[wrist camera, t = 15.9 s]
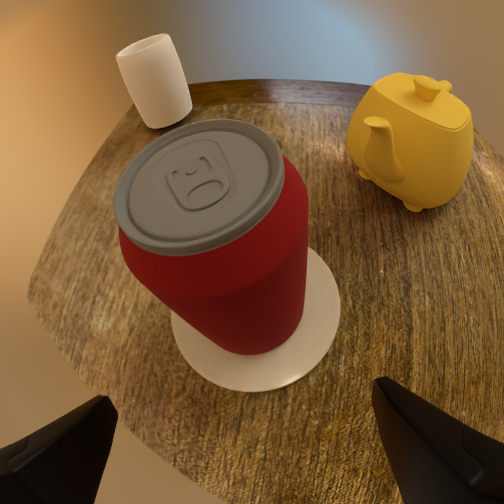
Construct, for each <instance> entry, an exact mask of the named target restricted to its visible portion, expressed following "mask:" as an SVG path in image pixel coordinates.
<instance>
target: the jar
mask: <svg viewBox="0 0 504 504" xmlns="http://www.w3.org/2000/svg"><path fill="white" fill-rule="evenodd" d="M339 319H340V297H339V292H338V288H337V284H336V282H335V279H334V277H333V275H332V273H331V271H330V269H329V268H328V266H327V265H326V263H325V262H324V261H323V260H322V258H321V257H320V256H319V255H318V254H317V253H316V252H315V251H313V250H312V249H311V248H310V247H308V256H307V276H306V291H305V301H304V310H303V315H302V318H301V321H300V323H299V325H298V327H297V329H296V330H295V332H294V333H293V334H292V336H291V337H290V338H289V339H288V340H287V341H286V342H284V343H283V344H282V345H280V346H279V347H277V348H275V349H273V350H271V351H269V352H266V353H262V354H257V355H240V354H235V353H232V352H229V351H227V350H224V349H223V348H221V347H219V346H218V345H216V344H215V343H214V342H212V341H211V340H209V339H208V338H207V337H205V336H204V335H202V334H201V333H200V332H199V331H197V330H196V329H195V328H193V327H192V326H191V325H189V324H188V323H187V322H186V321H185V320H183V319H182V318H181V317H180V316H178V315H177V314H176V313H175V312H174V311H172V310H171V323H172V330H173V334H174V338H175V341H176V343H177V346H178V348H179V350H180V352H181V353H182V355H183V357H184V358H185V360H186V361H187V362H188V363H189V364H190V366H191V367H192V368H193V369H194V370H195V371H196V372H198V373H199V374H200V375H201V376H203V377H204V378H206V379H207V380H209V381H210V382H212V383H214V384H216V385H219V386H221V387H224V388H227V389H230V390H235V391H241V392H265V391H273V390H277V389H281V388H284V387H287V386H289V385H291V384H293V383H295V382H297V381H298V380H300V379H301V378H303V377H304V376H305V375H307V374H308V373H309V372H310V371H311V370H312V369H313V368H314V367H315V366H316V365H317V364H318V363H319V362H320V361H321V360H322V358H323V357H324V356H325V354H326V353H327V351H328V350H329V348H330V346H331V344H332V342H333V340H334V338H335V335H336V332H337V329H338V324H339Z"/></svg>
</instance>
